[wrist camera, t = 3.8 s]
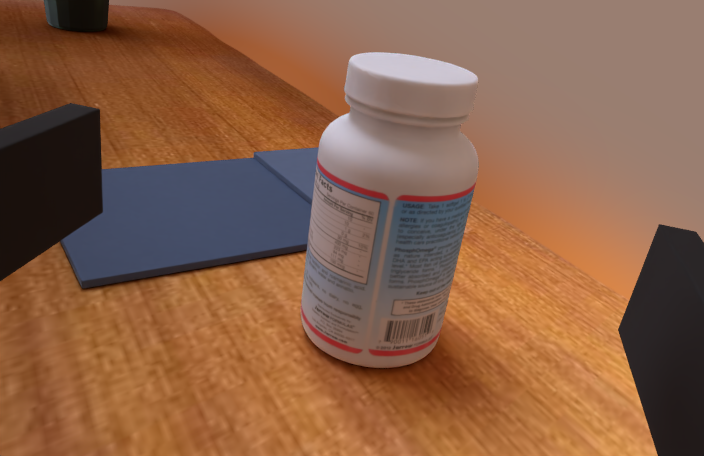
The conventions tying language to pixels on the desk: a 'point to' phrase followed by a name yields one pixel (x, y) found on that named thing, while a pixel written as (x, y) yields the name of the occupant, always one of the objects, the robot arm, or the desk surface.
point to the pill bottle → (389, 210)
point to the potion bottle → (77, 14)
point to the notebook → (195, 216)
